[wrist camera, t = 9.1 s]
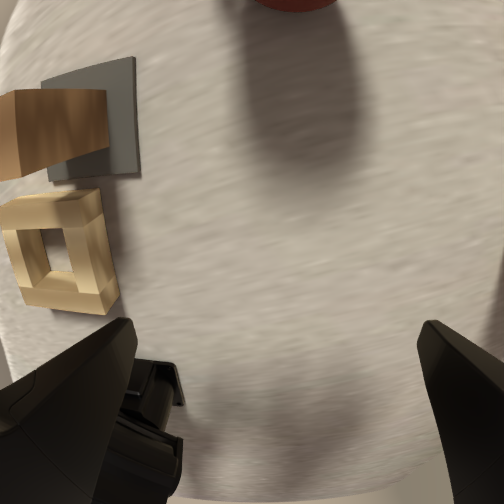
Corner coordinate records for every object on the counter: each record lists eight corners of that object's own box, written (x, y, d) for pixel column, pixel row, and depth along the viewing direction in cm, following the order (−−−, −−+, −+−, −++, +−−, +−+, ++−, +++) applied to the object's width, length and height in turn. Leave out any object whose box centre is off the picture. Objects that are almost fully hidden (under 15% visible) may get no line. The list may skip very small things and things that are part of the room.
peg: (109, 146, 19) (21, 177, 10) (64, 153, 19) (-25, 187, 11) (106, 89, 17) (14, 89, 9) (60, 100, 17) (-32, 112, 9)
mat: (140, 170, 20) (137, 172, 19) (52, 180, 20) (48, 181, 20) (135, 57, 16) (132, 56, 16) (44, 81, 17) (40, 81, 16)
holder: (120, 294, 24) (105, 315, 22) (42, 287, 25) (25, 304, 22) (99, 188, 20) (78, 199, 18) (18, 196, 21) (-4, 208, 18)
